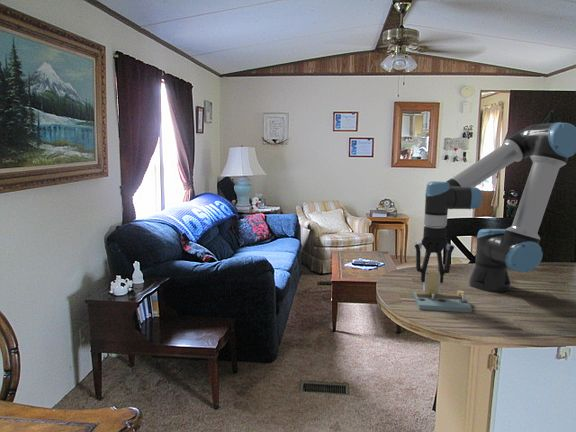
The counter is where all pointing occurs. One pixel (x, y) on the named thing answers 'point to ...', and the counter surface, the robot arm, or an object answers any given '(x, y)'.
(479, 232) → the robot arm
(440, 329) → the counter surface
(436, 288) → the block
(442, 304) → the board
